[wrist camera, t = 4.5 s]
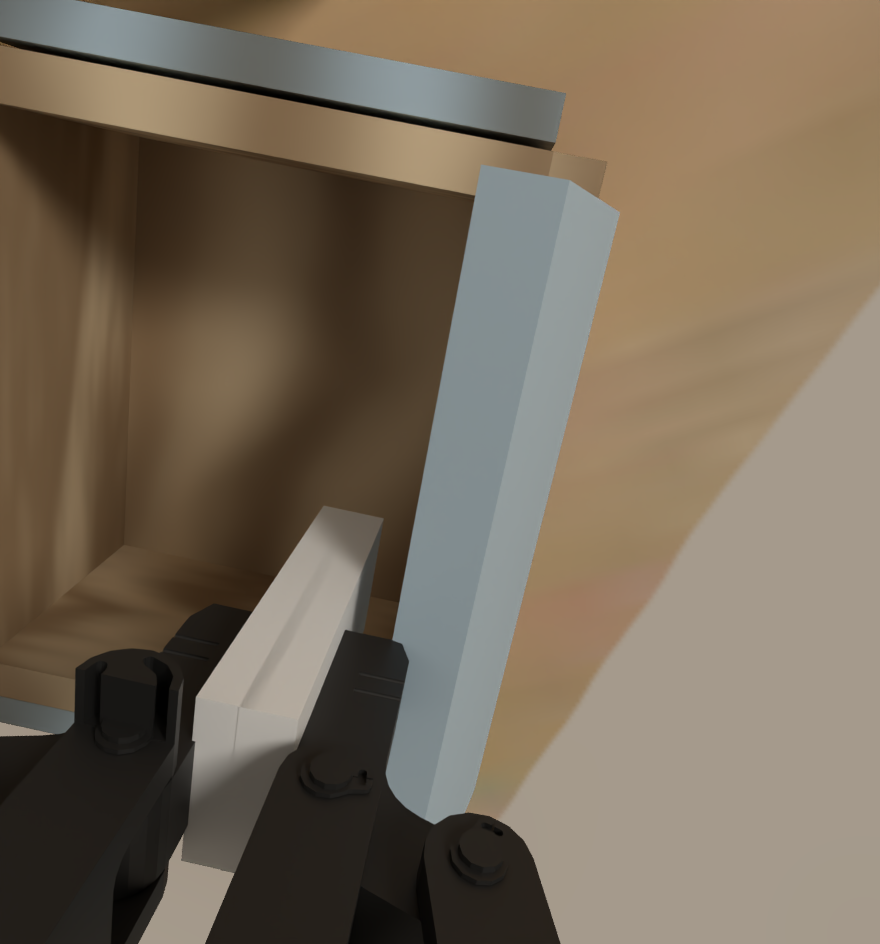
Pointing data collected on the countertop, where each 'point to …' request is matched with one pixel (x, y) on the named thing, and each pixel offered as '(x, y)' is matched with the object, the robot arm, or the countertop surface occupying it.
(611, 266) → the countertop surface
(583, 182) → the carton
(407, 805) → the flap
